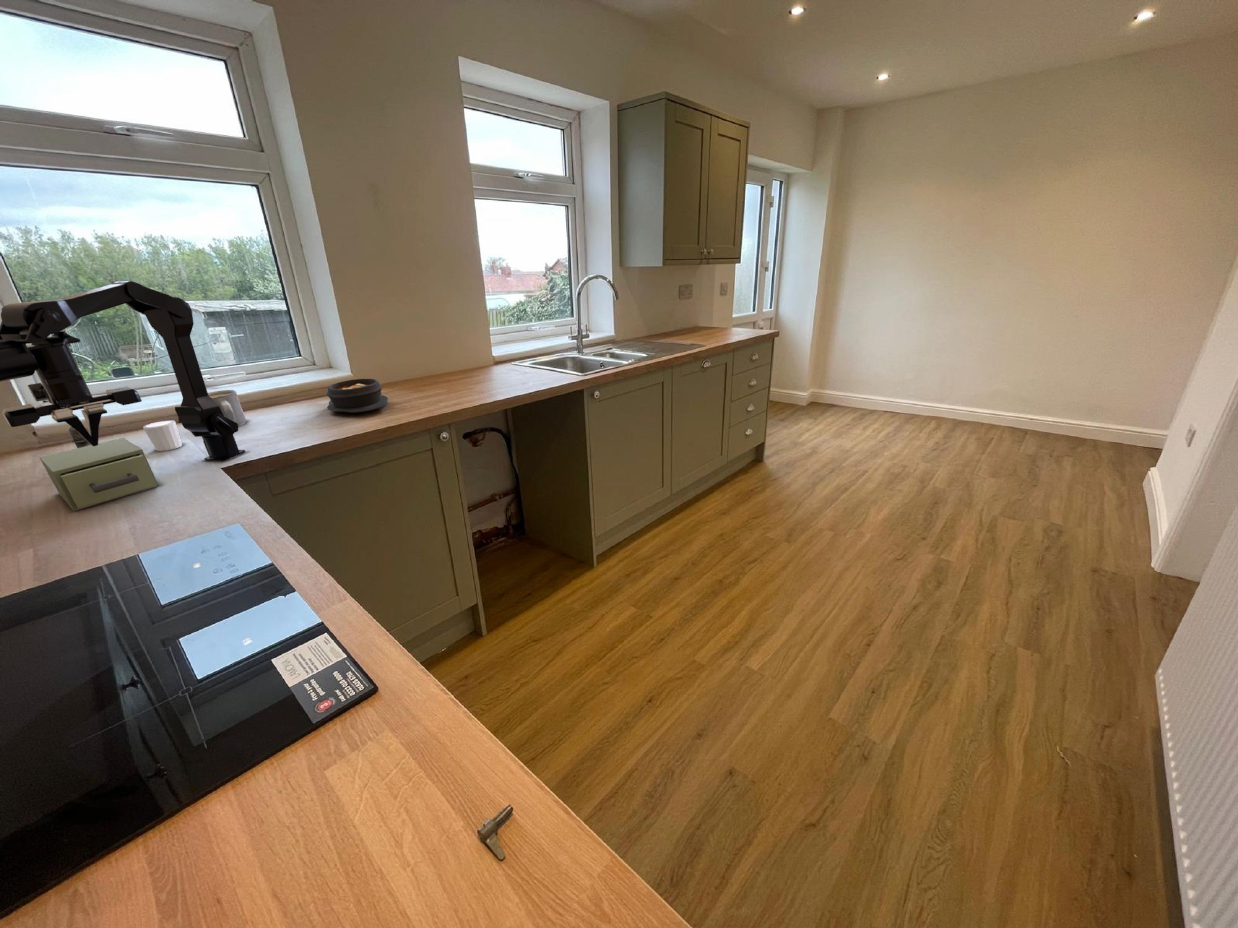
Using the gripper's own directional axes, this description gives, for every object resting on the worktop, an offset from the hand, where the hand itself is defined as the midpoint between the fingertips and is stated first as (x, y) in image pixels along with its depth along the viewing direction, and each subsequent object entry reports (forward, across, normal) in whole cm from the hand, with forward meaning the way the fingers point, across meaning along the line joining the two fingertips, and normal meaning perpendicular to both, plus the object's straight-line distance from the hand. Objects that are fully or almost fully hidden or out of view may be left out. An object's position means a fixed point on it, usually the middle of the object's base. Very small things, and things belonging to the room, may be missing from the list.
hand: (95, 445), depth 103 cm
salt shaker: (+13, -2, -35) cm, 37 cm away
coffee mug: (+13, -34, -42) cm, 55 cm away
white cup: (+13, -17, -35) cm, 41 cm away
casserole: (+13, -65, -22) cm, 70 cm away
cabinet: (+13, 0, -11) cm, 17 cm away
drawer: (+12, 0, -6) cm, 14 cm away
